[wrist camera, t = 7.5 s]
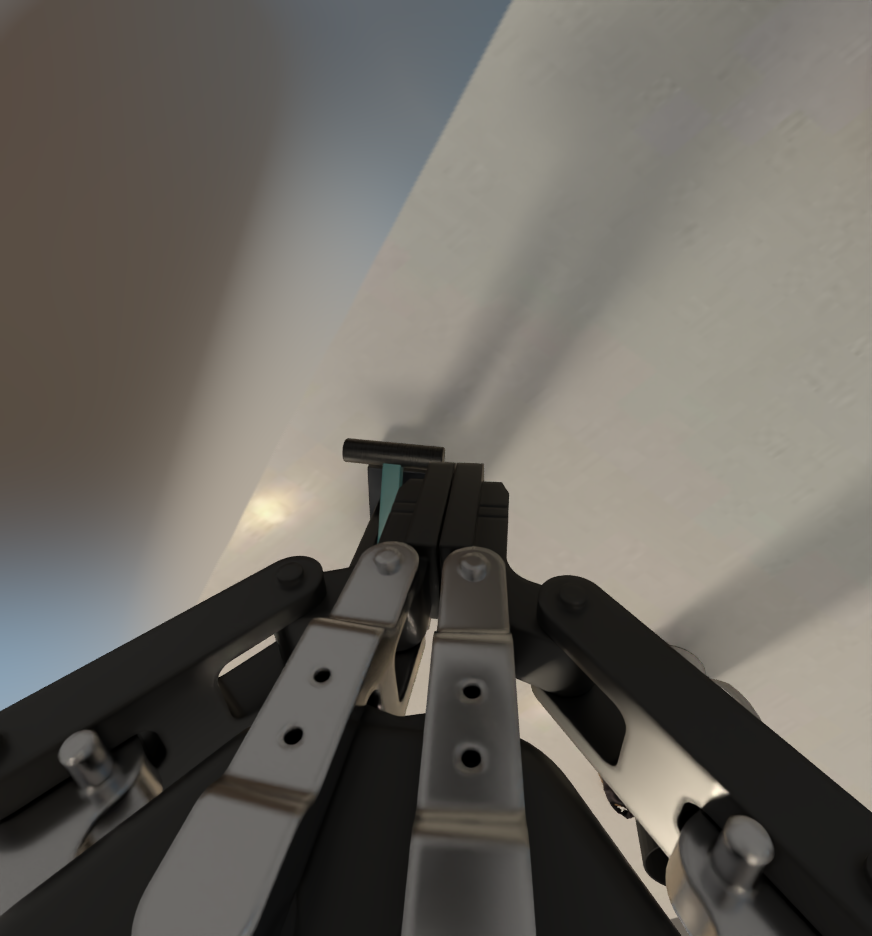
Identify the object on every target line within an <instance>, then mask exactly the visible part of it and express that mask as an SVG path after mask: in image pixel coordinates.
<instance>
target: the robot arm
mask: <svg viewBox="0 0 872 936" xmlns="http://www.w3.org/2000/svg"><path fill="white" fill-rule="evenodd" d="M508 508H509V493H508V491H507V490H506V488H505V487H504V485H503V483H502V482H484V464H479V463H457V466H456V463H450V462H429V464H428V467H427V470H426V474H425V477H424V479H411V478H410V479H409V480H408V481H407V482H406V483H404V484H403V485H402V486H401V487H400V488H399V489H398V492H397V495H396V497H395V500H394V503H393V505H392V508H391V512H390V513H389V516H388V518H387V521H386V524H385V526H384V529H383V531H382V534H381V537H380V539H379V542H378V544H376V545H374V546H372V547H370V548H368V549H367V550H366V551H364V552H363V554H362V555H361V556H360V558H359V560H358V562H357V564H356V565H355V566H352V567H348V568H344V569H338V570H332V571H326V572H323V570H322V566H321V564H320V563H319V562H318V561H316V560H315V559H313V558H310V557H307V556H293V557H288V558H285V559H282V560H279V561H277V562H275V563H273V564H271V565H270V566H268V567H266V568H264V569H262V570H260V571H259V572H257V573H255V574H253V575H251V576H249V577H247V578H246V579H244V580H242V581H240V582H238V583H236V584H235V585H233V586H231V587H229V588H227V589H225V590H223V591H222V592H220V593H218V594H216V595H214V596H212V597H210V598H209V599H207V600H205V601H203V602H201V603H199V604H198V605H196V606H194V607H192V608H190V609H188V610H187V611H185V612H183V613H181V614H179V615H177V616H175V617H174V618H172V619H170V620H168V621H166V622H164V623H162V624H161V625H159V626H157V627H155V628H153V629H151V630H150V631H148V632H146V633H144V634H142V635H140V636H139V637H137V638H135V639H133V640H131V641H130V642H127V643H126V644H124V645H122V646H120V647H118V648H116V649H114V650H113V651H111V652H109V653H107V654H105V655H103V656H101V657H100V658H98V659H96V660H94V661H92V662H90V663H89V664H87V665H85V666H83V667H81V668H80V669H77V670H76V671H74V672H72V673H70V674H68V675H66V676H65V677H63V678H61V679H59V680H57V681H55V682H54V683H52V684H50V685H48V686H46V687H44V688H42V689H40V690H39V691H37V692H35V693H33V694H31V695H29V696H28V697H26V698H24V699H22V700H20V701H18V702H16V703H15V704H13V705H11V706H9V707H8V708H5V709H3V710H2V711H0V936H681V934H680V933H679V932H678V930H677V929H676V928H675V926H674V925H673V923H672V922H671V921H670V919H669V918H668V916H667V915H666V914H665V912H664V911H663V910H662V908H661V907H660V905H659V904H658V903H657V901H656V900H655V898H654V897H653V896H652V894H651V893H650V892H649V890H648V889H647V887H646V886H645V885H644V883H643V882H642V881H641V879H640V878H639V876H638V875H637V874H636V872H635V871H634V869H633V868H632V867H631V865H630V864H629V863H628V861H627V860H626V858H625V857H624V856H623V854H622V853H621V851H620V850H619V849H618V847H617V846H616V844H615V843H614V842H613V840H612V839H611V838H610V836H609V835H608V833H607V832H606V831H605V829H604V828H603V826H602V825H601V824H600V822H599V821H598V820H597V818H596V817H595V815H594V814H593V813H592V811H591V810H590V808H589V807H588V806H587V804H586V803H585V801H584V800H583V799H582V797H581V796H580V795H579V793H578V792H577V790H576V789H575V788H574V786H573V785H572V783H571V782H570V781H569V779H568V778H567V777H566V775H565V774H564V773H563V772H562V771H561V770H560V768H559V767H558V766H557V765H556V764H555V763H554V762H553V761H552V760H551V759H550V758H549V757H547V756H546V755H545V754H544V753H543V752H542V751H540V750H539V749H537V748H536V747H534V746H533V745H531V744H530V743H528V742H526V741H524V740H523V739H521V738H520V733H519V719H518V705H517V691H516V678H517V679H519V680H521V681H524V682H526V683H529V684H531V688H532V691H533V693H534V695H535V697H536V698H537V700H538V701H539V702H540V703H541V704H542V706H543V707H544V708H545V709H546V710H547V712H548V713H549V714H550V715H551V716H552V718H553V719H554V720H555V721H556V722H557V724H558V725H559V726H560V727H561V728H562V730H563V731H564V732H565V733H566V735H567V736H568V737H569V738H570V739H571V741H572V742H573V743H574V744H575V745H576V747H577V748H578V749H579V750H580V751H581V753H582V754H583V755H584V756H585V757H586V759H587V760H588V761H589V762H590V763H591V765H592V766H593V767H594V768H595V770H596V771H597V772H598V773H599V774H600V776H601V777H602V778H603V779H604V780H605V782H606V783H607V784H608V785H609V786H610V788H611V789H612V790H613V791H614V792H615V794H616V795H617V796H618V797H619V798H620V800H621V801H622V802H623V803H624V805H625V806H626V807H627V808H628V809H629V811H630V812H631V813H632V814H633V815H634V817H635V818H636V819H637V820H638V821H639V823H640V824H641V825H642V826H643V827H644V829H645V830H646V831H647V832H648V833H649V835H650V836H651V837H652V838H653V840H654V841H655V842H656V843H657V844H658V846H659V847H660V848H661V849H662V850H663V852H664V853H665V854H666V855H667V856H668V858H669V861H668V864H667V867H666V887H667V892H668V896H669V899H670V902H671V904H672V906H673V909H674V911H675V913H676V914H677V916H678V918H679V919H680V921H681V922H682V924H683V926H684V927H685V929H686V930H687V932H688V934H689V936H872V812H871V811H869V810H868V809H867V808H866V807H865V806H863V805H862V804H861V803H860V802H859V801H857V800H856V799H855V798H854V797H853V796H851V795H850V794H849V793H848V792H846V791H845V790H844V789H843V788H842V787H840V786H839V785H838V784H837V783H836V782H834V781H833V780H832V779H831V778H830V777H828V776H827V775H826V774H825V773H823V772H822V771H821V770H820V769H819V768H817V767H816V766H815V765H814V764H813V763H811V762H810V761H809V760H808V759H807V758H805V757H804V756H803V755H802V754H801V753H799V752H798V751H797V750H796V749H794V748H793V747H792V746H791V745H790V744H788V743H787V742H786V741H785V740H784V739H782V738H781V737H780V736H779V735H778V734H776V733H775V732H774V731H773V730H771V729H770V728H769V727H768V726H767V725H765V724H764V723H763V722H762V721H761V720H759V719H758V718H757V717H756V716H755V715H753V714H752V713H751V712H750V711H749V710H747V709H746V708H745V707H744V706H742V705H741V704H740V703H739V702H738V701H736V700H735V699H734V698H733V697H732V696H730V695H729V694H728V693H727V692H726V691H724V690H723V689H722V688H721V687H719V686H718V685H717V684H716V683H715V682H713V681H712V680H711V679H710V678H709V677H707V676H706V675H705V674H704V673H703V672H701V671H700V670H699V669H698V668H697V667H695V666H694V665H693V664H692V663H690V662H689V661H688V660H687V659H686V658H684V657H683V656H682V655H681V654H680V653H678V652H677V651H676V650H675V649H674V648H672V647H671V646H670V645H669V644H668V643H666V642H665V641H664V640H663V639H661V638H660V637H659V636H658V635H657V634H655V633H654V632H653V631H652V630H651V629H649V628H648V627H647V626H646V625H645V624H643V623H642V622H641V621H640V620H638V619H637V618H636V617H635V616H634V615H632V614H631V613H630V612H629V611H628V610H626V609H625V608H624V607H623V606H622V605H620V604H619V603H618V602H617V601H616V600H614V599H613V598H612V597H611V596H609V595H608V594H607V593H606V592H605V591H603V590H602V589H601V588H600V587H599V586H597V585H596V584H594V583H593V582H591V581H589V580H587V579H585V578H582V577H578V576H572V575H563V576H557V577H553V578H551V579H549V580H547V581H546V582H545V583H543V584H542V585H540V584H537V583H534V582H531V581H528V580H526V579H524V578H522V577H520V576H519V575H518V574H516V573H515V572H514V571H513V570H512V569H511V567H510V566H509V564H508V562H507V535H508ZM429 618H433V619H438V626H437V631H435V632H434V635H433V643H432V653H431V664H430V674H429V684H428V695H427V705H426V713H424V714H416V715H409V716H405V713H406V709H407V706H408V703H409V699H410V696H411V692H412V689H413V686H414V682H415V679H416V676H417V672H418V669H419V665H420V662H421V659H422V655H423V652H424V648H425V644H426V643H425V634H426V631H427V626H428V622H429ZM273 634H274V635H275V639H276V642H274V643H273V644H271V645H270V646H268V647H266V648H265V649H263V650H262V651H260V652H259V653H257V654H256V655H254V656H252V657H251V658H249V659H248V660H246V661H245V662H243V663H241V664H240V665H238V666H237V667H235V668H234V669H232V670H231V671H229V672H227V673H226V674H224V675H223V676H220V677H218V676H219V673H220V672H221V670H222V669H223V667H224V666H225V665H226V664H228V663H229V662H230V661H232V660H233V659H235V658H236V657H238V656H240V655H241V654H243V653H244V652H246V651H248V650H249V649H251V648H252V647H254V646H255V645H257V644H259V643H260V642H262V641H263V640H265V639H267V638H268V637H270V636H271V635H273Z"/></svg>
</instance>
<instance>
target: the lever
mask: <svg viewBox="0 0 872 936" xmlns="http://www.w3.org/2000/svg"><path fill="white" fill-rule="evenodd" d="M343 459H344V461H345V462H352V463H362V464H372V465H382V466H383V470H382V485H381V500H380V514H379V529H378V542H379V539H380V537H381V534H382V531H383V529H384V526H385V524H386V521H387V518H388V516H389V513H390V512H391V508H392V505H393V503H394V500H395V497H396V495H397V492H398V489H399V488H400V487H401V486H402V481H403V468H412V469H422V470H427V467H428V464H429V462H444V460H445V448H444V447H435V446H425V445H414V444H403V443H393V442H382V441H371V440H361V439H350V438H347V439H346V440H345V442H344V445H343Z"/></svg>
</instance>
